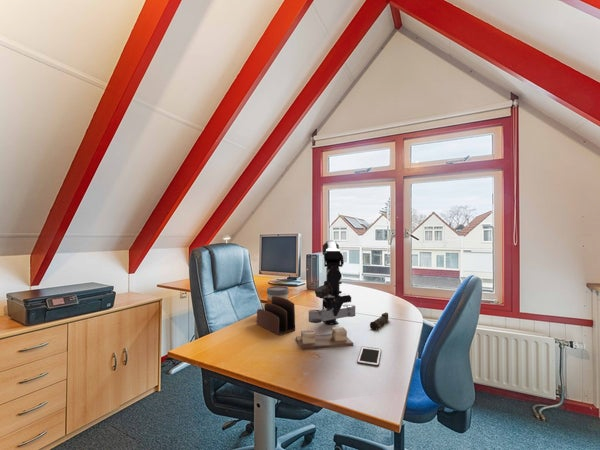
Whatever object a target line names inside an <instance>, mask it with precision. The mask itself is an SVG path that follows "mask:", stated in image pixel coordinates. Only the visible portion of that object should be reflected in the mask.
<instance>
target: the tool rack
mask: <svg viewBox="0 0 600 450" xmlns="http://www.w3.org/2000/svg"><path fill="white" fill-rule="evenodd" d="M295 340H296V342H297V344H298V346H299V347H300V350H301V351H306V350H307V351H308V350H317V349H328V348H339V347H350V346H351V347H352V346H354V343H353V341H352V340H351V339H350V338H349V337H348V331H347V329H346V328H344V326H337V327H331V333H325V334H316V332H315V330H314V329H312V328H311V329H310V328H309V329H300V335H298V336H297V335H296V336H295Z"/></svg>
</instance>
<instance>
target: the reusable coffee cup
mask: <svg viewBox="0 0 600 450" xmlns="http://www.w3.org/2000/svg"><path fill="white" fill-rule="evenodd" d="M289 293H290V290H289V287H287V286H284V285H282V286H281V285H276V286H275V285H272V286H269V287H267V288H266V295H267V298H266V299H267V303H271V304H272V302H271V298H272V296H277V297H281V298H284V299H287V300H289Z"/></svg>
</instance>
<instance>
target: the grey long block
mask: <svg viewBox="0 0 600 450" xmlns="http://www.w3.org/2000/svg"><path fill="white" fill-rule="evenodd" d="M324 308H325V307H324ZM355 316H356V305H354V304H347V303H346V304H343V305H342V306H341V308H340V310H339V312H338V314H337V316H334V309H333V307H332V308H325V309H322V308H321V309H320V308H319V309H309V310H308V322H309V323H312V324H320V323H322V322H324V321H327V320H332V319H336V320H337V319H343V318H352V317H353V318H354V317H355Z"/></svg>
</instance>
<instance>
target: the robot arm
mask: <svg viewBox="0 0 600 450" xmlns="http://www.w3.org/2000/svg"><path fill="white" fill-rule="evenodd" d="M322 255H323V260H324V262H323V265H324V267H325V268H326V270H325V271H326V273H325V275H326V278H325V280H324V282H323V285H320V286H319V287H316V288H315V289H314V291H313V292H314V294H315V297H316V298H319V299H322V305H321V306H322V308H321V309H325V308H332V307H333V309H334V316H337V314H338V312H339V310H340V308H341V306H343V305H344V304H347V303H351V302H352V296H351V295H350V294H347V293H342V292H343V291H342V290H340V289H341V288H340V286H341V285H342V281H341V279H342V273H341V271H340V268H343V266H344V262H345V261H344V255H343V253H342V252H341V250H340V248H339V244H338V243H337V240H335V239H329V240H328V239H327V240H325V243H324V244H322ZM323 323H325V325H336V324H339V322H338V320H337V319H332V320H327V321H323Z"/></svg>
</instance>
